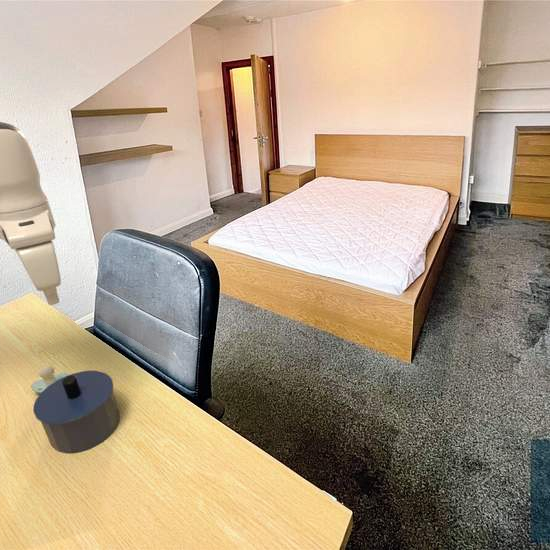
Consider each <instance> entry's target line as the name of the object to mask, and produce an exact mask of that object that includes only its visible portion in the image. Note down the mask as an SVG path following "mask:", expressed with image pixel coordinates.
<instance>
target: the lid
mask: <svg viewBox="0 0 550 550" xmlns="http://www.w3.org/2000/svg"><path fill="white" fill-rule="evenodd" d="M112 392H114V382H113V378H112V377H111V376H110V375H109V374H107V372H103V371H100V370H83V371H78V372H74V373H70V374H68V376H65V377H63V378H61V379H59V380H57V381H56V382H54V383H52V384H51V385H49V386H48V387H47V388H46V389H45V390H44V391H43V392H42V393H39V394H38V396H37V398H36V399H35V401H34V404H33V409H32V410H33V415H34V417H35V418H36V419H37V420H38V421H39V422H40V423H41V422H43V423H45V424H50V425H61V424H67V423H71V422H75V421H78V420H80V419H83V418H85V417H87V416H89V415H91V414H92V413H94V412H95V411H97V410H98V409H99V408H101V407H102V406H103V405H104V404H105V403H106V402H107V400H108V399H109V398H110V396H111V394H112Z"/></svg>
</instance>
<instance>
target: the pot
mask: <svg viewBox="0 0 550 550" xmlns="http://www.w3.org/2000/svg"><path fill="white" fill-rule="evenodd" d="M120 418H121V415H120V409H119V406H118V402H117V399H116V396H115V393H114V391H113V392H112V394H111V396H110V398H109V399H108V400H107V402H106V403H105V404H104V405H103V406H102V407H101V408H99V409H98V410H97V411H95V412H94V413H92V414H91V415H89V416H87V417H85V418H83V419H80V420H78V421H75V422H71V423H67V424H61V425H50V424H45V423H43V422H41V421H40V423H41V425H42V428H43V430H44V432H45V434H46V437H47V439H48V442H49V444H50V446H51V447H52V448H53V449H54V450H55V451H57V452H60V453H63V454H77V453H81V452H86V451H88V450H91V449H93V448H95V447H96V446H98V445H100V444H102V443H103V442H105V441H106V440H107V439H108V438H110V437H111V435H112V434H113V433H114V432H115V431H116V429H117V428H118V426H119V422H120Z"/></svg>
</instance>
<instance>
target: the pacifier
mask: <svg viewBox="0 0 550 550" xmlns="http://www.w3.org/2000/svg"><path fill="white" fill-rule="evenodd" d="M37 373H38V376H39V377H40V378H41V379H38V380H35V381H34V382H32V383H31V385H30V388H31V391H33V392H35V393H37V394H41V393H42V392H43V391H44V390H45V389H46V388H47V387H48V386H49V385H51V384H52V383H54V382H56V381H57V380H59V379H61V378H63V377H65V376H68V375H69V373H68V372H67V371H62V372H59V373H56V374H55V368H54V367H53V366H51V365H44V366H42V367H40V368H39V369H38V372H37Z"/></svg>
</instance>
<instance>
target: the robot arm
mask: <svg viewBox="0 0 550 550" xmlns="http://www.w3.org/2000/svg"><path fill="white" fill-rule="evenodd" d="M28 142H29V141H28V140H27V138H26V137H25V135H24V133H23V132H22V131H21V129H19V128H18V127H16V126H15V125H13V124H11V123H8V122H2V121H0V240H2V241H4V242H5V243H6V244H7V245H8V247H10V249H11V250H14V251H15V252H16V254H17V256H18V258H19V260H20V261H21V264H22V265H23V267H24V269H25V271H26V273H27V275H28V278H29V279H30V280H31V283H32V284H33V286H34V288H35V289H36V290H37V291H38V292H42V293H43V295H44V297H45V299H46V302H47V304H48V306H55V305H57V304H59V303H60V298H59V295H58V290H57V287H59V286H61V284H62V279H61V272H60V269H59V264H58V259H57V254H56V249H55V246H54V245H55V244H54V242H53V241H54V240H56V234H55V228H56V227H57V225H56V221H55V218H54V215H53V212H52V209H51V205H50V203H49V199H48V197H47V195H46V194H45V192H44V191H43V189H42V186H41V176H40V170H39V168H38V166H37V162H36V159H35V157H34V154H33V152H32V148H31V147H30V145H29V143H28Z"/></svg>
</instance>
